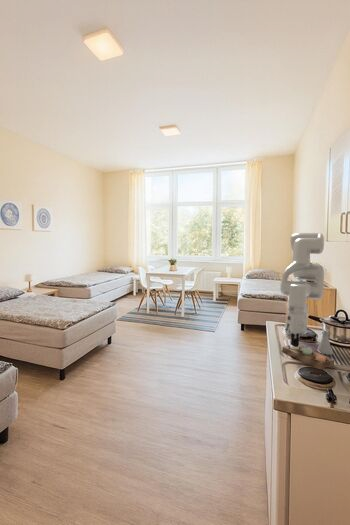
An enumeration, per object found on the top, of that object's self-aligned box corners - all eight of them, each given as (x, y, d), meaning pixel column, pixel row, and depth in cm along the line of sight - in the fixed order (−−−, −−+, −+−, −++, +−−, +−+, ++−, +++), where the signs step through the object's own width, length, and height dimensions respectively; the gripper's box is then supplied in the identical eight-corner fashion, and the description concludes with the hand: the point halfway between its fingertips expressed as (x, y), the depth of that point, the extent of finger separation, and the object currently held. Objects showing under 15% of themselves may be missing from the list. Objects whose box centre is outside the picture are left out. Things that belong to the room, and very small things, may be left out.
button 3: (313, 362, 120) (313, 356, 119) (319, 361, 121) (319, 354, 121) (321, 366, 116) (321, 359, 116) (327, 365, 118) (327, 358, 117)
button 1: (288, 350, 132) (288, 344, 132) (293, 349, 134) (294, 343, 134) (294, 354, 129) (295, 347, 128) (300, 352, 130) (300, 346, 130)
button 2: (300, 354, 126) (300, 347, 126) (306, 352, 127) (306, 346, 127) (307, 357, 122) (307, 350, 122) (313, 356, 124) (313, 349, 124)
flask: (335, 356, 127) (336, 336, 127) (318, 354, 129) (320, 334, 128) (329, 350, 134) (331, 331, 134) (314, 348, 136) (315, 329, 135)
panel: (282, 351, 132) (282, 346, 132) (296, 348, 136) (296, 343, 136) (318, 369, 114) (318, 363, 114) (333, 365, 118) (334, 359, 118)
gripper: (291, 312, 123) (289, 351, 124) (314, 309, 129) (311, 346, 131) (279, 308, 130) (277, 345, 131) (301, 306, 136) (299, 340, 137)
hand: (294, 345), depth 131 cm, fingers closed
